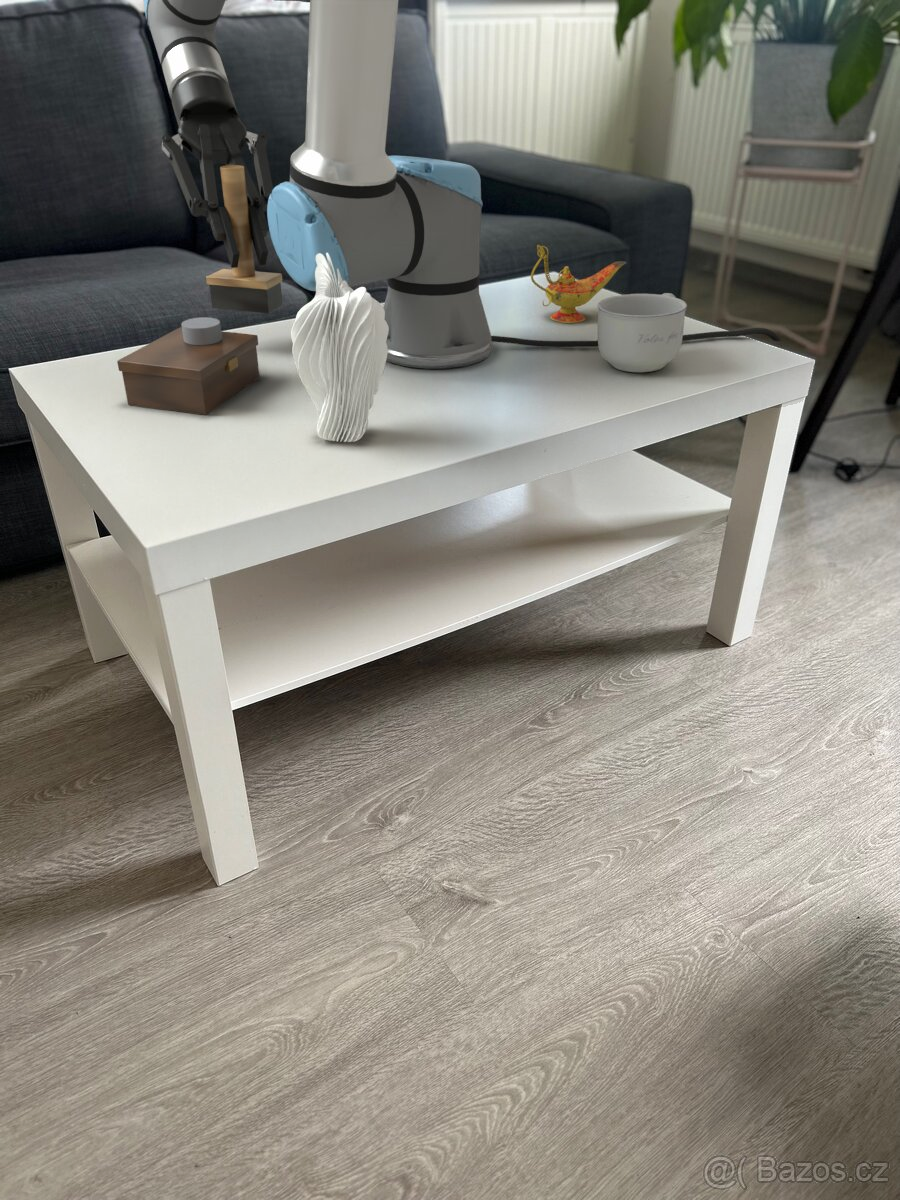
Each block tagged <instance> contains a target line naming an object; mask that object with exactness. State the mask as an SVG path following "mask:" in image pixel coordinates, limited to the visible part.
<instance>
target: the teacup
mask: <svg viewBox="0 0 900 1200" xmlns="http://www.w3.org/2000/svg"><path fill="white" fill-rule="evenodd" d="M687 308H688V304H687V303H686V301H684V300H682V299H680V298H678V297H676V296H675V295H674V294H673V293H671V292H670V293H669V292H664V293H662V294H658V293H657V294H656V293H629V294H627V293H626V294H619V295H613V296H609V297H605V298H603V299H601V300H599V302H597V310H598V311H597V313H598V314H597V341H598V347H597V348H598V350H599V353H600V355H601V357H602V358H603V359H604V360H606V362H608V363H609V364H610V366H612V367H613V368H614V369H617V370H619V371H623V372H629V373H649V372H654V371H658V370H661V369H663V368H664V367H666V366H667V365H668V363H670V362H671V361H673V360H674V359H675V358H676V357H677V356H678V355H679V352H680V350H681V348H682V343H683V341H682V338H683V335H684V329H685V318H686V310H687Z"/></svg>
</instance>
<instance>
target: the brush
mask: <svg viewBox="0 0 900 1200" xmlns="http://www.w3.org/2000/svg"><path fill="white" fill-rule="evenodd" d="M219 171H220V178H221V179H220V180H221V188H222V197H223V203H224V207H226V210H227V213H228V217H229V220H230V224H231V227H232V230H233V234H234V237H235V241H236V244H237V247H238V251H239V254H240V255H239V261H238V267H237V268H229V269H228V268H222V269H219V270H217V271H215V272H214V273H211V274H209V275H206V276H205V278H206V285H209V293H210V300H211V307H212V309H216V310H225V311H238V312H248V313H258V314H270V313H273V312H275V311H276V310H278V309H279V308H281V307H282V306H283V296H282V295H283V294H282V285H281V284H282V282H283V274H282V273H279V272H268V271H267V272H266V271H256V268H255V257H254V249H253V248H254V246H253V242H252V238H251V228H250V219H249V210H248V200H247V191H246V181H245V172H244V166H240V165H227V166H226V165H222V166H220V167H219Z"/></svg>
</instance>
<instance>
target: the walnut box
mask: <svg viewBox="0 0 900 1200" xmlns="http://www.w3.org/2000/svg"><path fill="white" fill-rule="evenodd" d="M221 332H222V340H221V341H219V342H217V343H214V344H210V345H191V344H187V343H185V342H184V338H183V331H182V326H180V327H178V328H176V329H174V330H172V331H170V332H168V333H166V334H165V335H162V336H161V337H159V338H157V339H155V340H153V341H151V342H150V343H148V344H146V345H144V346H142V347H140V348H138V349H137V350H135V351H133V352H131V353H129V354H127V355H125V356H124V357H122V358H121V357H120V359H118V360H116V361H117V368H118V371H119V372H121V375H122V380H123V385H124V390H125V396H126V401H127V405H128V406H133V407H134V406H135V407H141V408H142V407H143V408H149V409H158V410H166V411H172V412H179V413H187V414H195V415H203V416H207V415H208V414H210V413H211V412H213V411H214V410H215V409H218V408H219V407H220V406H222V405H223V404H224V403H225V402H227V401H229V400H231V398H232V397H234V396H236V395H237V394H238V393H239V392H241V391H243V390H244V389H245V388H246V387H248V386H250V385H251V384H252V383H254V382H255V381H257V380H259V379H260V369H259V368H260V367H259V359H258V350H257V349H258V348H257V346H258V345H259V338H258V337H259V336H258V334H249V333H243V332H242V333H241V332H240V333H239V332H231V331H223V330H221Z"/></svg>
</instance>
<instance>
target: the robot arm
mask: <svg viewBox="0 0 900 1200" xmlns="http://www.w3.org/2000/svg"><path fill="white" fill-rule="evenodd" d="M226 1H227V0H143V6H144V11H145V13H144V14H145V19H146V21H147V26H148V28H149V32H150V33H151V36H152V40H153V43H154V46H155V49H156V52H157V57H158V59H159V63H160V66H161V69H162V73H163V76H164V79H165V84H166V87H167V90H168V94H169V98H170V100H171V104H172V105H171V106H172V108H173V112H174V115H175V119H176V122H177V125H178V129H177V134H174V135H172V136H170V135H168V134H164V135H163V136H162V137H161V154H162V156H163V157H164V158H165V159H166V160H167V162H168V163H169V164H170V165H171V167H172V170H173V171H174V174H175V176H176V179H177V181H178V184H179V186H180V189H181V192H182V194H183V196H184V199H185V202H186V205H187V206H188V209H189V211H190V214H191V215H192V216H193V217H194V218H195V217H196V218H198V217H200V216H202V217H206V222H207V223H208V224H210V228H211V231H212V234H213V238H214V240H216V242H221V241H222V242H223V244H224V247H225V251H226V254H227V257H228V262H229V264H230V269H232V268H237V267H238V261H239V255H240V254H239V251H238V247H237V244H236V241H235V237H234V234H233V230H232V227H231V224H230V220H229V217H228V213H227V210H226V207H225V206H220V207H219V198H218V190H217V183H216V175H215V167H214V166H215V165H217V164H223V165H225V166H227V165H240V166H244V172H245V181H246V191H247V200H248V210H249V219H250V228H251V238H252V246H253V248H254V251H255V255H256V258H257V262H258V265H259V266H266V264H267V258H268V254H269V250H268V247H267V243H266V240H265V238H267V237H268V232H269V234H270V239H271V242H272V246H273V248H274V250H275V253H276V255H277V256H278V258H279V260H280V263H281V264H282V266H283V268H284V269H285V271H286V272H287V274H288V275H289V277H290V278H291V279H292V280H293V281H294V282H295V283H297V284H298V285H299V286H300V287H302V288H303V289H306V290H308V291H312V292H316V280H315V270H316V267H317V263H316V255H317V254H319V253H320V254H322V255H323V256H324V257H325V258H326V260H327V262H328V259H327V256H326V253H328V254H329V256H330V258H331V261H332V264H333V268H334V271H335V276H336V280H337V283H338V274H337V269H339V272H340V275H341V278H342V281H346V282H347V284H348V286H349V287H350V288H351V287H355V286H360V285H365V284H369V283H374V282H375V283H376V282H380V281H385V280H387V292H386V296H385V300H384V304H383V308H384V311H385V318H384V320H385V321H386V322H387V324H388V327H389V331H388V336H387V340H386V344H387V349H388V352H387V359H386V362H389V363H392V364H395V365H399V366H403V367H410V368H416V369H452V368H459V367H460V368H461V367H464V366H469V365H473V364H477V363H479V362H481V361H484V360H485V359H487V358H488V357H489V356H490V354H491V353H492V343H502V344H512V345H514V344H515V345H521V346H526V347H527V346H528V347H546V348H599V347H598V340H538V339H527V338H518V337H511V336H500V335H492V333H491V330H490V326H489V322H488V319H487V315H486V312H485V308H484V304H483V302H482V298H481V295H480V258H481V235H482V234H481V231H482V208H483V206H484V204H483V200H482V186H481V185H482V184H481V182H482V181H481V176H480V173H479V171H478V170H477V169H476V168H475V167H474V166H472V165H470V164H467V163H461V162H456V161H450V160H443V159H435V158H427V157H419V156H407V155H388V154H387V153H386V146H387V145H386V144H387V131H388V121H389V109H390V101H391V100H390V97H391V87H392V76H393V75H392V74H393V66H394V54H395V42H396V32H397V31H396V30H397V22H398V21H397V20H398V11H399V10H398V8H399V0H275V1H276V2H277V1H280V2H281V1H283V2H284V1H285V2H302V3H309V17H308V19H309V20H308V21H309V23H308V47H307V48H308V51H307V77H306V78H307V82H306V107H305V109H306V111H305V135H304V136H305V138H304V139H305V140H304V142H303V143H302V144H301V145H300V146H299V147H298V148H297V149H296V150H294V151H293V152H292V154H291V155H290V159H289V161H290V162H289V181H283V182H281V183H279V184H278V185H276V186H275V187H274V186H273V185H274V184H273V181H272V176H271V169H270V164H269V160H268V154H267V145H268V144H267V143H268V137H269V135H268V133H267V131H265V130H260V131H258V133H254V132H251V131H249V130H247V128H246V126H245V125H244V123H243V122H242V121H241V120H240V117H239V113H238V109H237V107H236V103H235V100H234V97H233V93H232V90H231V88H230V83H229V79H228V77H227V73H226V71H225V67H224V65H223V61H222V58H221V54H220V50H219V48H218V44H217V40H216V36H215V31H216V27H217V24H218V22H219V18H220V16H221V13H222V11H223V8H224V5H225V2H226ZM245 143H246V144H247V146H248V150H249V151H250V154H252V155H253V164H254V169H255V174H256V180H257V185H258V189H257V187H256V185H255V183H254V181H253V179H252V176H251V174H250V172H249V170H248V168H247V165H246V163H245V161H244V159H243V157H242V156H243V155H242V151H241V150H242V148H243V147H244V144H245ZM184 149H186V150H187V151H188V152H189V153H190V154H191V155H193V156H194V157H195V158H196V159H197V160H199V167H200V174H201V180H202V186H203V187H202V188H203V194H204V195H203V196H204V199H202V195H201V193H200V191H199V188H198V186H197V183H196V181H195V179H194V176H193V173H192V171H191V168H190V165H189V164H188V161H187V158H186V156H185V154H184ZM258 190H259V191H258ZM265 212H266V214H267V215H266V214H265ZM328 264H329V262H328ZM329 267H330V265H329ZM330 269H331V268H330ZM331 272H332V270H331ZM332 275H333V273H332ZM333 278H334V275H333ZM334 281H335V278H334ZM335 286H336V282H335ZM336 291H337V287H336ZM749 335H763V336H764V335H765V336H767V337H768V338H770V339H771V340H772V341H774V342H781V338H780V337H779V336H778V335H777V334H776V332H774V331H772V330H770V329H768V328H765V327H752V328H751V327H750V328H745V329H737V330H720V331H719V330H717V331H708V332H697V333H690V334H683V338H682V342H686V341H695V340H704V339H714V338H730V337H731V338H734V337H742V336H749Z"/></svg>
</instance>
